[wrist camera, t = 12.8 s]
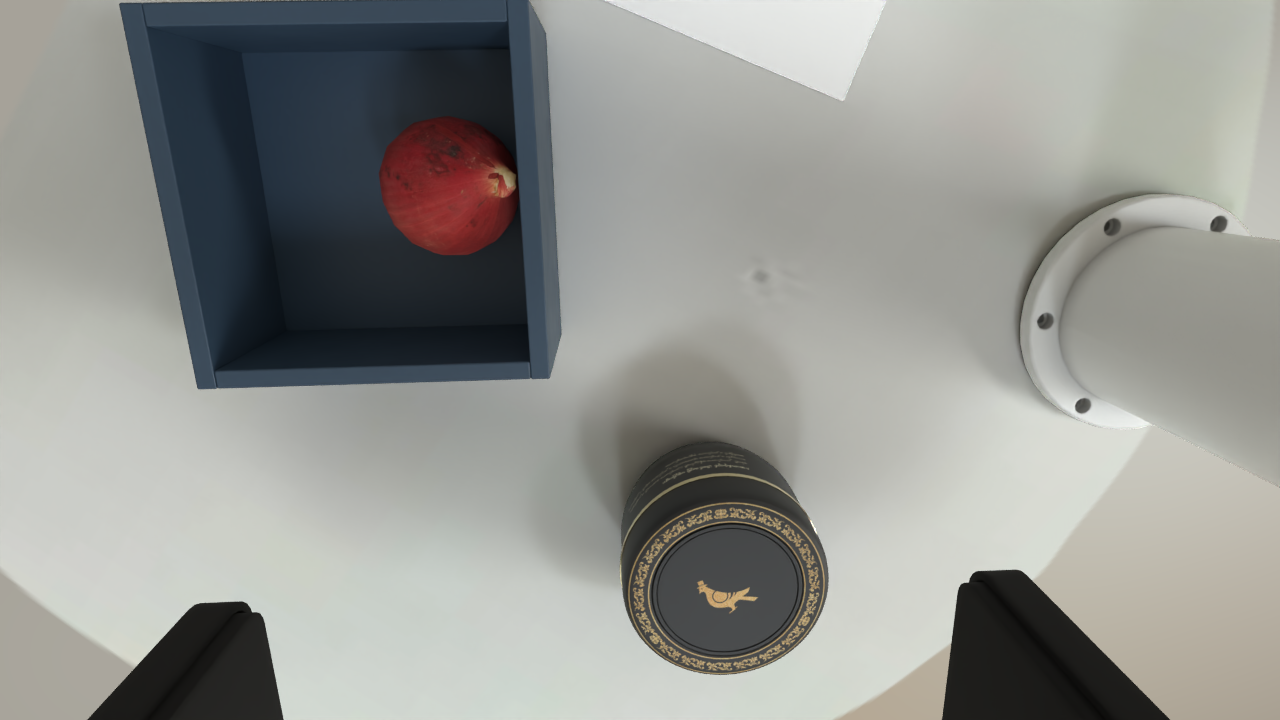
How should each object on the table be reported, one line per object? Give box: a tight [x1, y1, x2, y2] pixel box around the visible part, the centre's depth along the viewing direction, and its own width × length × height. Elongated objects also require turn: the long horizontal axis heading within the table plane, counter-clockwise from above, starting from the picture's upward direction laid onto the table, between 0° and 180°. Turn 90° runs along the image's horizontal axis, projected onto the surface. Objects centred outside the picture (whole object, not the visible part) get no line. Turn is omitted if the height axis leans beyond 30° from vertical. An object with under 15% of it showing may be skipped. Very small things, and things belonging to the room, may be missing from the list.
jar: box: [620, 442, 828, 675], centre depth 37 cm, size 10×10×8 cm
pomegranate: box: [379, 116, 519, 255], centre depth 31 cm, size 6×6×8 cm
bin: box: [119, 0, 561, 389], centre depth 31 cm, size 15×15×8 cm
